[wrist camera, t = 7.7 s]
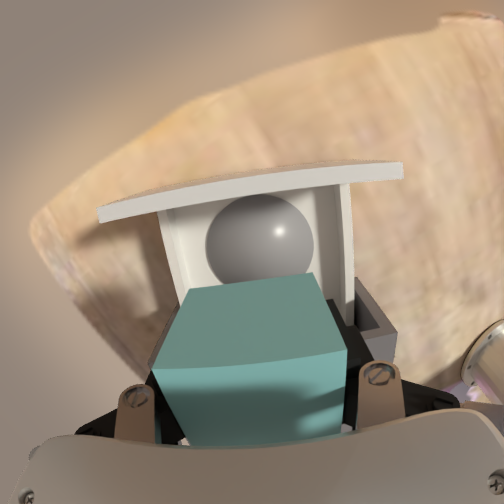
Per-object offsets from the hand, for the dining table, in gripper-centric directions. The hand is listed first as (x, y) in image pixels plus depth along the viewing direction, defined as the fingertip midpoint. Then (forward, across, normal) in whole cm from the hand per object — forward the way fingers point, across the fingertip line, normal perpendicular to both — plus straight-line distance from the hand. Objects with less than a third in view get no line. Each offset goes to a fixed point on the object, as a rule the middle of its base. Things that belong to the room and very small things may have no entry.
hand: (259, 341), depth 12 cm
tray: (+15, 0, +3) cm, 15 cm away
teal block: (+1, 0, 0) cm, 1 cm away
